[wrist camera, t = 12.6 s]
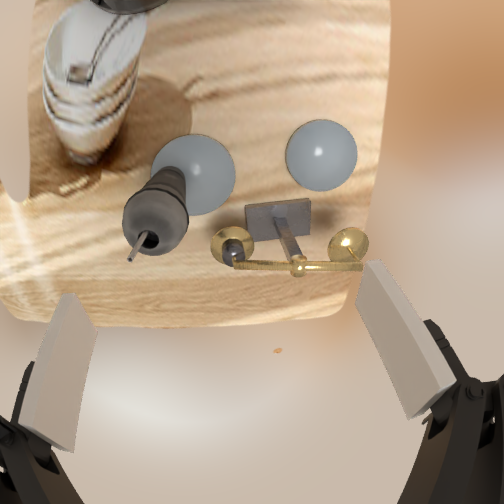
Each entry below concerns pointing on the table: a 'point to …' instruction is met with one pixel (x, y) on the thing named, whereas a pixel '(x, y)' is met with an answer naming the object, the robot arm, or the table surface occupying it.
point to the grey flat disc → (199, 170)
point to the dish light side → (321, 155)
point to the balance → (286, 240)
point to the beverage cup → (157, 214)
